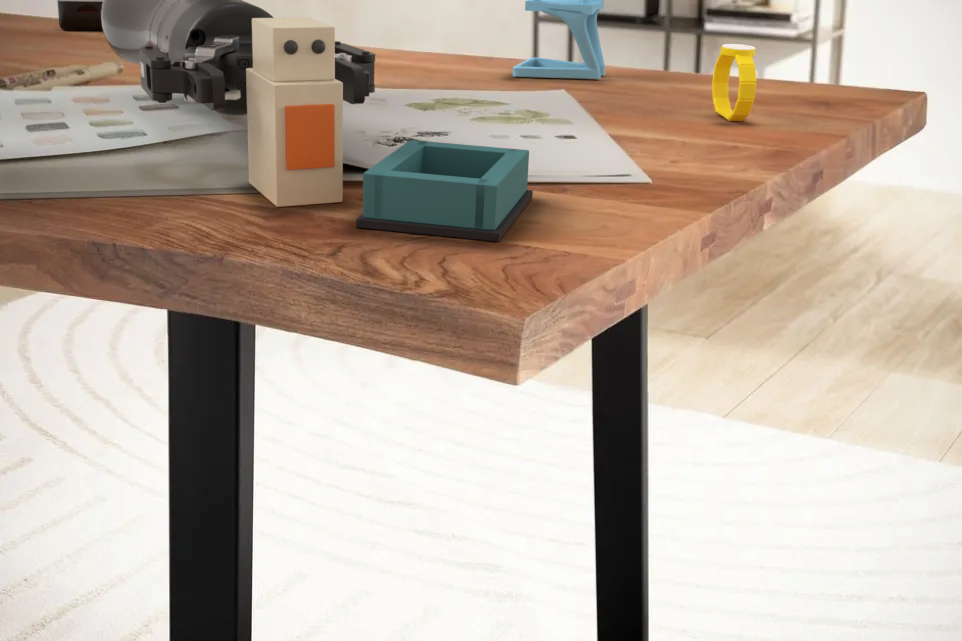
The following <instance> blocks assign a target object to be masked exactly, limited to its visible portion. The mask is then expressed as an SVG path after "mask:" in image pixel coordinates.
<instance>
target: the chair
mask: <svg viewBox="0 0 962 641" xmlns="http://www.w3.org/2000/svg"><path fill="white" fill-rule="evenodd" d="M604 6H605V0H525V4H524V11H527V12H541V13H544V14H547V15H549V16H552V17H556V18H558V19H560V20H561V21H562V22H564V23H565V25H566V26H567V27H568V28H569V30H570V32H571V34H572V36H573V38H574V40H575V43H576V44H577V48H578V50H579V52H580V55H581V58H582V61H583V62H578V61H577V62H576V61H569V60H568V61H567V60H561V59H553V58H544V57H529V58H526V59H525V60H523V61H522V62H520V63H518V64H516V65H515V66H513V67H512V77H513V78H547V79H548V78H550V79H551V78H552V79H580V80H581V79H583V80H601V79H602V77H603V76H606V64H605V60H604V55H603V50H602V46H601V42H600V35H599V30H598V14H599V12H600V11H602V10H604Z"/></svg>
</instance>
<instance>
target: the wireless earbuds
mask: <svg viewBox="0 0 962 641" xmlns="http://www.w3.org/2000/svg"><path fill="white" fill-rule="evenodd" d="M56 2H57V3H56V4H57V16H58V25H59V28H60V29H61V30H62V31H96V32H97V31H98V32H99V31H100V32H101V31H102V32H103V29H102V23H101V10H102V4H103V0H57V1H56Z"/></svg>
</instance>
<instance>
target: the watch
mask: <svg viewBox="0 0 962 641" xmlns="http://www.w3.org/2000/svg"><path fill="white" fill-rule="evenodd" d="M756 50H757V49H756V47H755V46H753V45H748V44H742V43H724V44H722V45H721V47H720V53H719V54H718V57H717V60H716V62H715V64H714V68H713V74H712V79H711V81H712V82H711V97H712V103H713V107H714V112H715V113H716V114H718V115H720V116H722V117H723V118H724V119H725V120H727V121H728V122H744V120H745V119H746V118H747V117H748V116H749V115H750V113H751V111H752V108H753V106H754V103H755V99H756V90H757V71H756V70H757V69H756V64H755V62H754V59H753V58H754V57H755V56H756ZM734 62H736V65H737V70H738V81H739V83H738V92H737V99H736V102H735V104H734V108H733V109H732V106H731V102H730V98H729V80H730V76H731V69H732V66H733V63H734Z"/></svg>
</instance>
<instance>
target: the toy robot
mask: <svg viewBox="0 0 962 641" xmlns="http://www.w3.org/2000/svg"><path fill="white" fill-rule="evenodd" d="M335 35H336V28H335V26H334V25H331V24H328V23H325V22H324V21H321V20H318V19H316V18H313V17H309V16H308V17H274V18H252V49H253V68H247V69H246V86H247V114H246V118H247V122H246V123H247V155H248V157H247V158H248V159H247V162H248V183H249V184H250V185H251V186H252V187H253V188H254V189H255V190H256V191H258V192H259V193H260V194H261V195H262V196H264V197H265V198H266V199H267V200H268V201H270V203H272V204H273V205H274V206H275V207H276V208H283V207H284V208H285V207H294V206H295V207H296V206H297V207H298V206H309V205H321V204H334V203H336V204H337V203H343V201H344V196H343V195H344V183H343V182H344V177H343V176H344V167H343V166H344V100H343V83H342V82H341V81H338V80H336V79H335V41H336V36H335Z"/></svg>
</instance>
